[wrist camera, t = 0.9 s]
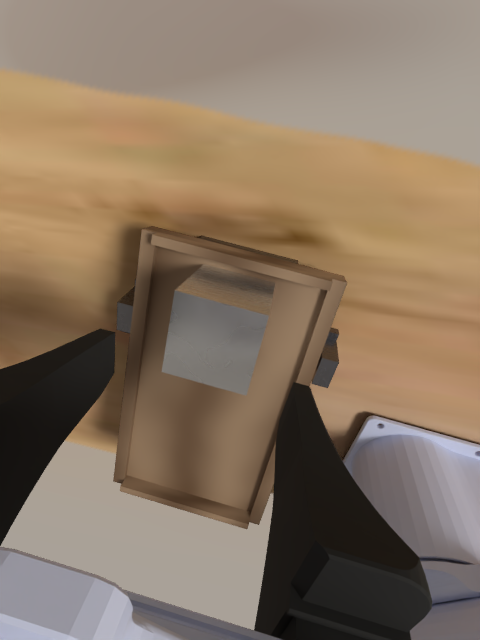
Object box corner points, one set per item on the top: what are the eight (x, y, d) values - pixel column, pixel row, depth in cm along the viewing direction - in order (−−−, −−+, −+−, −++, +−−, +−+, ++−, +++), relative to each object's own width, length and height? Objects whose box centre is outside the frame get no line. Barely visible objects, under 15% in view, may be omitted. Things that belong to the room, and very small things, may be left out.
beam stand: (360, 276, 21) (367, 298, 18) (285, 456, 29) (283, 488, 27) (142, 220, 21) (119, 233, 19) (130, 411, 30) (113, 438, 27)
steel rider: (275, 282, 19) (268, 315, 14) (257, 347, 20) (246, 395, 16) (204, 264, 19) (174, 290, 14) (191, 329, 20) (161, 371, 16)
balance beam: (343, 276, 19) (348, 285, 17) (260, 507, 26) (258, 532, 24) (152, 226, 20) (137, 230, 18) (122, 466, 27) (109, 487, 25)
